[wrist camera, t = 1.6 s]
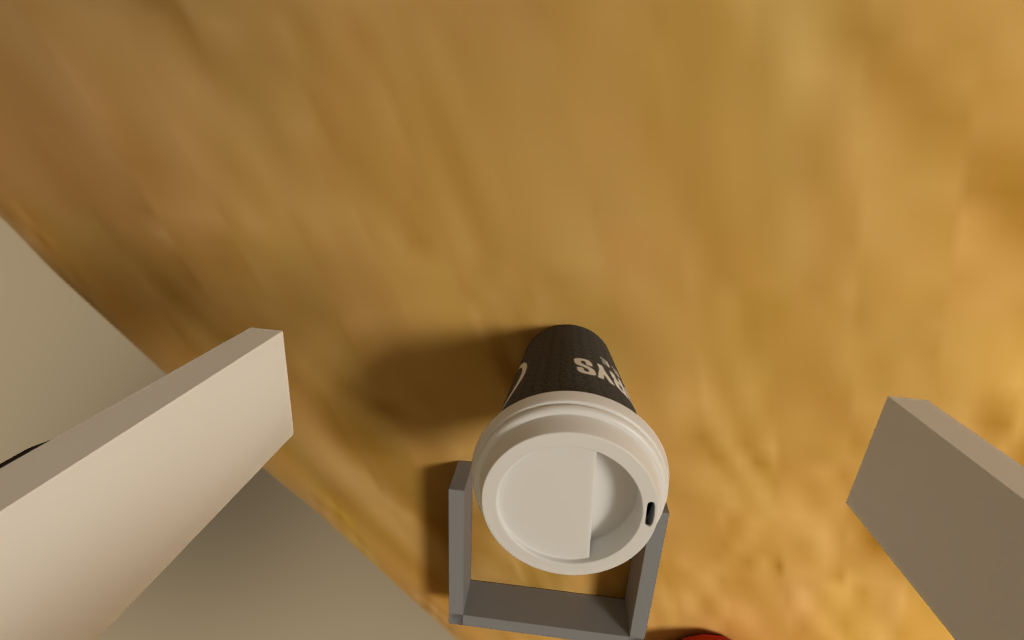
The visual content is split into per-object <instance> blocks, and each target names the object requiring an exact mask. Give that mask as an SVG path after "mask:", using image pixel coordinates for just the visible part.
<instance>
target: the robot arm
mask: <svg viewBox="0 0 1024 640" xmlns="http://www.w3.org/2000/svg"><path fill="white" fill-rule="evenodd" d="M293 434H294V432H293V423H292V413H291V404H290V395H289V385H288V376H287V367H286V357H285V348H284V339H283V331H279V330H270V329H261V328H249V329H247V330H245V331H244V332H242V333H240V334H238V335H236V336H235V337H233V338H231V339H229V340H228V341H226V342H224V343H222V344H220V345H219V346H217V347H215V348H213V349H212V350H210V351H208V352H206V353H205V354H203V355H201V356H199V357H197V358H196V359H194V360H192V361H190V362H189V363H187V364H185V365H183V366H181V367H180V368H178V369H176V370H174V371H173V372H171V373H169V374H167V375H165V376H164V377H162V378H160V379H158V380H157V381H155V382H153V383H151V384H150V385H148V386H146V387H144V388H142V389H141V390H139V391H137V392H135V393H133V394H132V395H130V396H128V397H127V398H125V399H123V400H121V401H119V402H118V403H116V404H114V405H112V406H111V407H109V408H107V409H105V410H103V411H101V412H100V413H98V414H96V415H95V416H93V417H91V418H89V419H87V420H86V421H84V422H82V423H80V424H78V425H77V426H75V427H73V428H71V429H70V430H68V431H66V432H64V433H62V434H61V435H59V436H57V437H55V438H54V439H52V440H49V441H47V442H44V443H41V444H39V445H36V446H33V447H31V448H28V449H27V450H24V451H23V452H21V453H19V454H17V455H16V456H14V457H12V458H10V459H8V460H6V461H5V462H3V463H1V464H0V640H97V639H98V638H99V636H100V635H101V634H102V633H103V632H104V631H105V630H106V629H107V628H108V627H109V626H110V625H111V624H112V623H113V622H114V621H115V620H116V619H117V618H118V617H119V616H120V615H121V614H122V613H123V611H124V610H125V609H126V608H127V607H128V606H129V605H130V604H131V603H132V602H133V601H134V600H135V599H136V598H137V597H138V596H139V595H140V594H141V593H142V592H143V591H144V590H145V589H146V587H147V586H148V585H149V584H150V583H151V582H152V581H153V580H154V579H155V578H156V577H157V576H158V575H159V574H160V573H161V572H162V571H163V570H164V569H165V567H166V566H168V565H169V563H170V562H171V561H172V560H173V559H174V558H175V557H176V556H177V555H178V554H179V553H180V552H181V551H182V550H183V549H184V548H185V547H186V546H187V544H188V543H190V542H191V541H192V539H193V538H194V537H195V536H196V535H197V534H198V533H199V532H200V531H201V530H202V529H203V528H204V527H205V526H206V525H207V524H208V523H209V522H210V521H211V520H212V519H213V518H214V516H215V515H216V514H217V513H218V512H219V511H220V510H221V509H222V508H223V507H224V506H225V505H226V504H227V503H228V502H229V501H230V500H231V499H232V498H233V497H234V496H235V494H237V493H238V491H239V490H240V489H241V488H242V487H243V486H244V485H245V484H246V483H247V482H248V481H249V480H250V479H251V478H252V477H253V476H254V475H255V474H256V473H257V472H258V471H259V469H261V467H262V466H263V465H264V464H265V463H266V462H267V461H268V460H269V459H270V458H271V457H272V456H273V455H274V454H275V453H276V452H277V451H278V450H279V449H280V448H281V447H282V446H283V444H284V443H285V442H286V441H287V440H288V439H289V438H290V437H291V436H292V435H293ZM846 503H847V504H848V506H849V507H850V508H851V509H852V511H853V512H854V513H855V514H856V516H857V517H858V518H859V519H860V521H861V522H862V523H863V524H864V526H865V527H866V528H867V530H868V531H869V532H870V533H871V535H872V536H873V537H874V538H875V540H876V541H877V542H878V543H879V545H880V546H881V547H882V548H883V550H884V551H885V552H886V553H887V555H888V556H889V557H890V558H891V560H892V561H893V562H894V563H895V565H896V566H897V567H898V568H899V570H900V571H901V572H902V573H903V575H904V576H905V577H906V578H907V580H908V581H909V582H910V583H911V585H912V586H913V587H914V588H915V590H916V591H917V592H918V593H919V595H920V596H921V597H922V598H923V600H924V601H925V602H926V603H927V605H928V606H929V607H930V609H931V610H932V611H933V612H934V614H935V615H936V616H937V617H938V619H939V620H940V621H941V622H942V624H943V625H944V626H945V627H946V629H947V630H948V631H949V632H950V634H951V635H952V636H953V637H954V639H955V640H1024V467H1023V466H1022V465H1020V464H1019V463H1017V462H1016V461H1015V460H1013V459H1012V458H1010V457H1009V456H1007V455H1006V454H1004V453H1003V452H1001V451H1000V450H999V449H997V448H996V447H994V446H993V445H991V444H990V443H988V442H987V441H986V440H984V439H983V438H981V437H980V436H978V435H977V434H975V433H974V432H973V431H971V430H970V429H968V428H967V427H965V426H964V425H962V424H961V423H959V422H958V421H957V420H955V419H954V418H952V417H951V416H949V415H948V414H946V413H945V412H944V411H942V410H941V409H939V408H938V407H936V406H935V405H933V404H932V403H930V402H929V401H928V400H921V399H911V398H902V397H893V396H888V397H887V400H886V402H885V405H884V407H883V410H882V413H881V415H880V418H879V420H878V423H877V425H876V428H875V430H874V433H873V436H872V438H871V441H870V443H869V446H868V448H867V451H866V453H865V456H864V458H863V461H862V464H861V466H860V469H859V471H858V474H857V476H856V479H855V481H854V484H853V487H852V489H851V492H850V494H849V497H848V499H847V502H846Z"/></svg>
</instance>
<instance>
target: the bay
mask: <svg viewBox="0 0 1024 640" xmlns="http://www.w3.org/2000/svg"><path fill="white" fill-rule="evenodd" d="M668 517H669V511H668V507H667V504H666V503H665V506H664V509H663V512H662V514H661V517H660V519H659V521H658V522H657V524H656V527H655V529H654V532H653V534H652V536H651V537H650V539H649V540H648V542H647V543H646V544H645V546H644V547H643V548H642V549H641V550H640V551H639V552H638V553H637V554H636V555H634V556H633V557H632V559H631V565H630V571H629V576H628V582H627V588H626V594H625V599H619V598H611V597H603V596H595V595H587V594H579V593H571V592H563V591H555V590H547V589H539V588H531V587H523V586H515V585H507V584H499V583H491V582H483V581H475V580H471V532H472V462H466V461H458V463H457V466H456V469H455V472H454V475H453V478H452V481H451V484H450V487H449V623H451V624H459V625H466V626H474V627H481V628H489V629H496V630H503V631H511V632H518V633H526V634H533V635H541V636H548V637H556V638H563V639H571V640H644V638H645V633H646V628H647V623H648V618H649V613H650V608H651V603H652V598H653V593H654V588H655V583H656V578H657V572H658V567H659V562H660V557H661V552H662V547H663V542H664V537H665V532H666V527H667V522H668Z"/></svg>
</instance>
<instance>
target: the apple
mask: <svg viewBox="0 0 1024 640" xmlns="http://www.w3.org/2000/svg"><path fill="white" fill-rule="evenodd" d="M681 640H729V639H727V638H726V637H724V636H717V635H709V634H700V635H696V636H691V637H686V638H683V639H681Z"/></svg>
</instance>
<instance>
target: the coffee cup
mask: <svg viewBox="0 0 1024 640" xmlns="http://www.w3.org/2000/svg"><path fill="white" fill-rule="evenodd" d="M472 480H473V488H474V493H475V497H476V500H477V503H478V505H479V508H480V510H481V512H482V514H483V516H484V518H485V521H486V524H487V526H488V528H489V530H490V531H491V533H492V535H493V536H494V538H495V539H496V540H497V541H498V543H499V544H500V545H501V546H502V547H503V548H504V549H505V550H506V551H508V552H509V553H510V554H511V555H513V556H514V557H516V558H517V559H519V560H520V561H522V562H524V563H526V564H528V565H530V566H532V567H535V568H537V569H540V570H544V571H547V572H551V573H557V574H564V575H585V574H593V573H598V572H602V571H606V570H609V569H611V568H614V567H616V566H618V565H620V564H622V563H624V562H626V561H627V560H629V559H630V558H632V557H633V556H634V555H636V554H637V553H638V552H639V551H640V550H641V549H642V548H643V547H644V546H645V544H646V543H647V542H648V540H649V539H650V537H651V536H652V534H653V532H654V529H655V527H656V524H657V522H658V521H659V519H660V517H661V514H662V512H663V509H664V506H665V503H666V500H667V495H668V486H669V466H668V461H667V457H666V454H665V451H664V448H663V446H662V444H661V442H660V440H659V439H658V437H657V435H656V434H655V433H654V431H653V430H652V429H651V427H650V426H649V425H648V424H647V423H646V422H645V421H644V420H643V419H642V418H641V417H639V416H638V415H637V413H636V411H635V409H634V406H633V404H632V402H631V400H630V397H629V395H628V393H627V391H626V389H625V386H624V384H623V382H622V380H621V377H620V375H619V373H618V371H617V368H616V366H615V364H614V362H613V359H612V357H611V355H610V353H609V350H608V348H607V347H606V345H605V343H604V342H603V341H602V340H601V339H600V338H599V337H598V336H597V335H596V334H595V333H593V332H592V331H590V330H588V329H586V328H583V327H580V326H575V325H559V326H555V327H551V328H549V329H547V330H545V331H543V332H541V333H540V334H539V335H537V336H536V337H535V338H534V339H533V340H532V342H531V343H530V345H529V346H528V348H527V350H526V353H525V355H524V357H523V360H522V362H521V365H520V367H519V369H518V372H517V374H516V376H515V379H514V381H513V384H512V386H511V388H510V391H509V393H508V395H507V398H506V400H505V402H504V405H503V407H502V409H501V412H500V413H499V414H498V415H497V416H496V417H495V418H494V419H493V420H492V421H491V422H490V423H489V424H488V425H487V427H486V428H485V429H484V431H483V432H482V434H481V436H480V437H479V439H478V442H477V444H476V447H475V450H474V453H473V458H472Z"/></svg>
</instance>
